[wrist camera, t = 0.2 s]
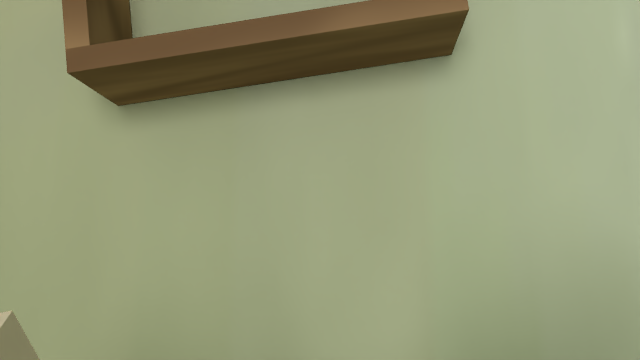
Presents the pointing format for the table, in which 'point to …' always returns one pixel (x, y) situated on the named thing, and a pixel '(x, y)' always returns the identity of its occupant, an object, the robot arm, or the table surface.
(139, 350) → the table surface
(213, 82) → the walnut box
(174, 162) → the table surface
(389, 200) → the table surface
